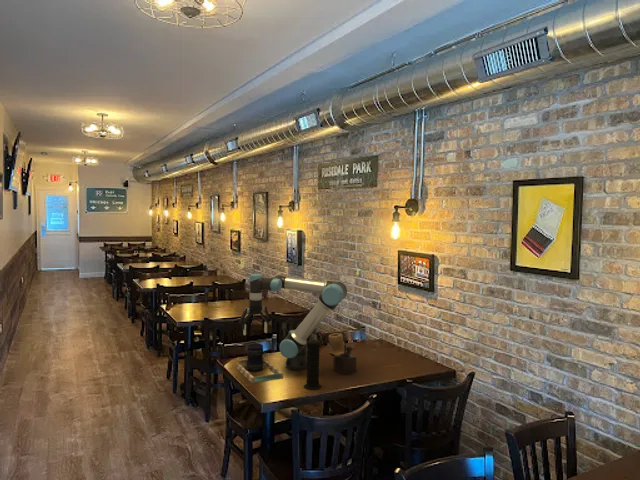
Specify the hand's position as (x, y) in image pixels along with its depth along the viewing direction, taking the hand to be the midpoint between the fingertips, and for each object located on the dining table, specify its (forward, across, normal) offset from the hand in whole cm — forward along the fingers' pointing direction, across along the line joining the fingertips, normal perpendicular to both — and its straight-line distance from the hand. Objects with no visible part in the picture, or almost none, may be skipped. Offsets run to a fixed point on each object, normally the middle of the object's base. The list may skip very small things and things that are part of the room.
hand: (255, 333), depth 290 cm
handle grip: (+22, -19, +41) cm, 51 cm away
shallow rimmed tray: (+22, 0, +7) cm, 24 cm away
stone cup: (+22, -62, -4) cm, 66 cm away
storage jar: (+23, 0, 0) cm, 23 cm away
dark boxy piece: (+22, -49, +28) cm, 61 cm away
